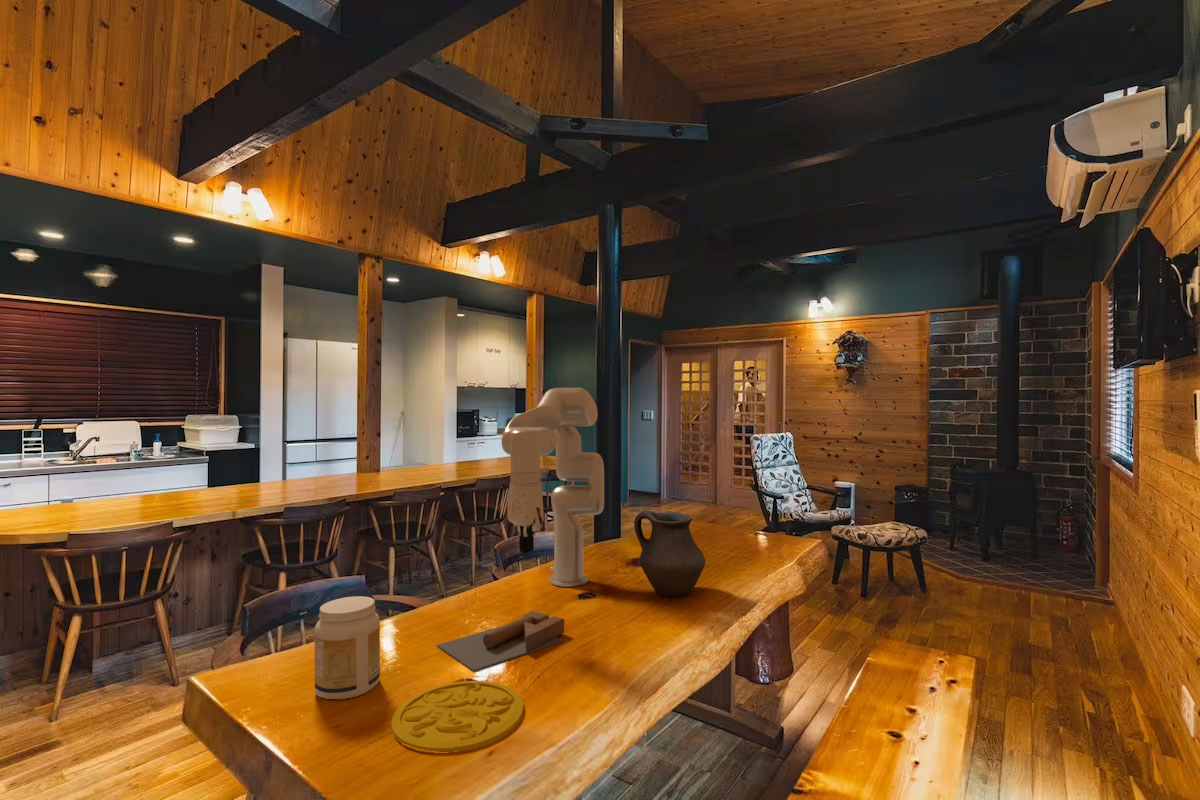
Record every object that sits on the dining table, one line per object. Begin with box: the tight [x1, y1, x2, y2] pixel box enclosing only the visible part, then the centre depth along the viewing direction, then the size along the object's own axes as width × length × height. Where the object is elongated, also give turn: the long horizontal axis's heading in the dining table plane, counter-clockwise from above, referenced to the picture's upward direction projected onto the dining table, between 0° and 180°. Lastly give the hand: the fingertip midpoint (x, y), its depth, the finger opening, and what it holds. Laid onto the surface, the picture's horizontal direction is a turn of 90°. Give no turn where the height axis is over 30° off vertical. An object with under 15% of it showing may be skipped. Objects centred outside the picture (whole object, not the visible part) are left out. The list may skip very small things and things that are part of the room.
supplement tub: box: [313, 595, 381, 700], centre depth 116 cm, size 12×12×17 cm
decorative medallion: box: [391, 680, 524, 752], centre depth 105 cm, size 24×24×2 cm
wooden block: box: [483, 610, 565, 652], centre depth 138 cm, size 4×11×18 cm
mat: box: [436, 625, 563, 673], centre depth 137 cm, size 18×24×1 cm
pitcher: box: [633, 510, 706, 598], centre depth 175 cm, size 21×22×25 cm
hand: (526, 551), depth 143 cm, fingers closed
